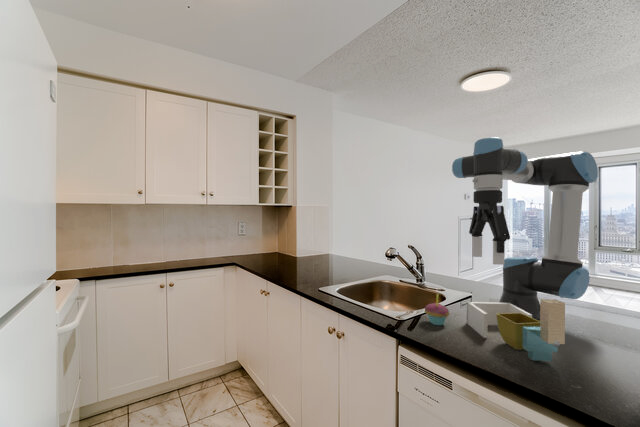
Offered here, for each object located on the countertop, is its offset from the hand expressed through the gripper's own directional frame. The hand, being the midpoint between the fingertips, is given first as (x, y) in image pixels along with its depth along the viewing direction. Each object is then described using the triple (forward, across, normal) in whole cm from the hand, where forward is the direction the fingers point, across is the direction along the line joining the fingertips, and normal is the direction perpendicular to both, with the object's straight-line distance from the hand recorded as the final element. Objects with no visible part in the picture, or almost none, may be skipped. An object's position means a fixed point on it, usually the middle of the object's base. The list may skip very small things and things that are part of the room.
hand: (487, 260), depth 87 cm
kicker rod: (+26, +9, +11) cm, 30 cm away
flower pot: (+27, -3, +11) cm, 30 cm away
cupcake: (+27, -20, -9) cm, 35 cm away
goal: (+27, -15, +10) cm, 33 cm away
